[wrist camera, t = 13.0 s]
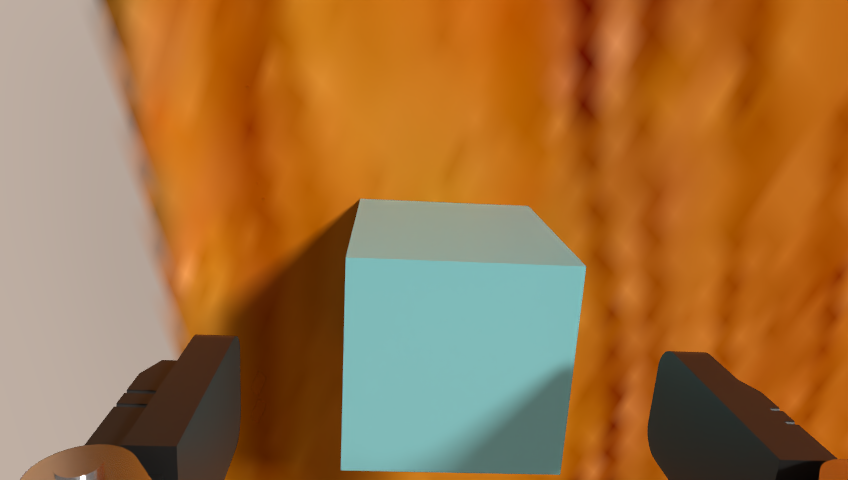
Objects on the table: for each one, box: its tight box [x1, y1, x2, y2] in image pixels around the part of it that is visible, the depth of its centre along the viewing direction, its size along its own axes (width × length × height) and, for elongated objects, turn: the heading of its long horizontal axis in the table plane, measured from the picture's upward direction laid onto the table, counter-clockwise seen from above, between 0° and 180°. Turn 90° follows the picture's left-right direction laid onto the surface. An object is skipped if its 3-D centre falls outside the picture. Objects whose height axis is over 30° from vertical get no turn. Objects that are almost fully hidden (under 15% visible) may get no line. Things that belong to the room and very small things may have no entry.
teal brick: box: [341, 199, 586, 475], centre depth 17 cm, size 5×5×6 cm
